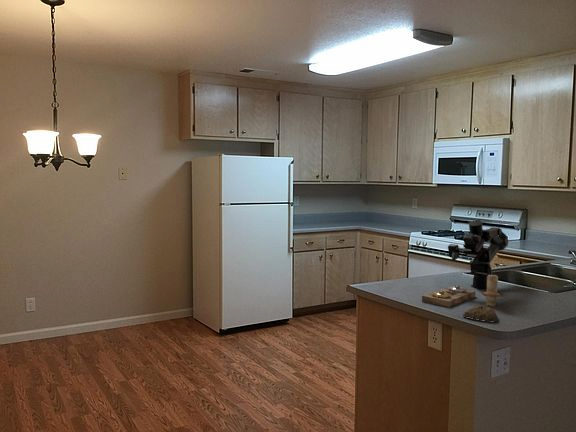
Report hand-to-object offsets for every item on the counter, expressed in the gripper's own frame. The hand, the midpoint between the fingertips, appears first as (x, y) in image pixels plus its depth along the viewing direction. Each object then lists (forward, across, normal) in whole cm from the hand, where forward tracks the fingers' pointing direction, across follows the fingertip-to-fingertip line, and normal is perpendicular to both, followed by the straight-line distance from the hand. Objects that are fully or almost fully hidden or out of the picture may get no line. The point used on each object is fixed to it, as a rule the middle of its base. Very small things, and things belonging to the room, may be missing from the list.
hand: (462, 261), depth 222 cm
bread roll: (+30, +18, +5) cm, 35 cm away
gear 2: (+5, -1, +12) cm, 13 cm away
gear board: (+13, -2, +11) cm, 18 cm away
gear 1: (+19, -2, +6) cm, 20 cm away
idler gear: (+10, +15, +13) cm, 22 cm away
